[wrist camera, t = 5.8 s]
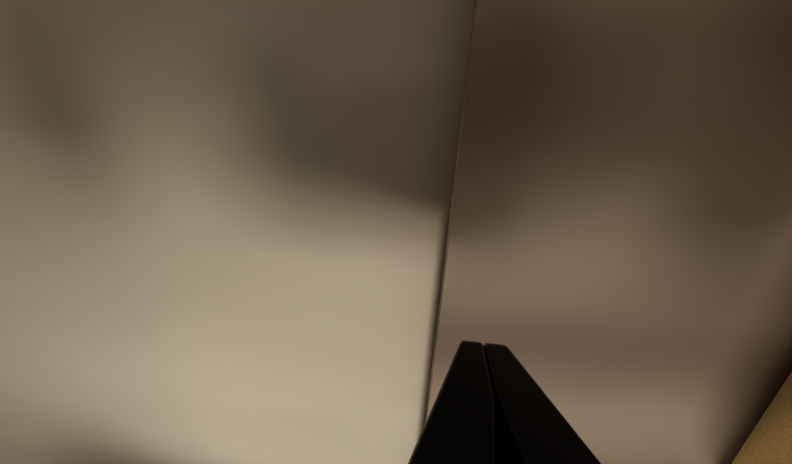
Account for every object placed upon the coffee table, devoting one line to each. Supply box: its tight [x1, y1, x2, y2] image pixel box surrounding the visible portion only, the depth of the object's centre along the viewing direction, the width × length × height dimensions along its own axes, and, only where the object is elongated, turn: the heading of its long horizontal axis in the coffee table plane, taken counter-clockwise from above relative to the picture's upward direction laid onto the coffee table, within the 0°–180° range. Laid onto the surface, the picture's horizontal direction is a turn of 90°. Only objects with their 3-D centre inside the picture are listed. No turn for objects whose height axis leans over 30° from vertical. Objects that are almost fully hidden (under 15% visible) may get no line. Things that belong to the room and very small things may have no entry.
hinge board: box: [425, 0, 792, 464], centre depth 12 cm, size 22×18×1 cm
